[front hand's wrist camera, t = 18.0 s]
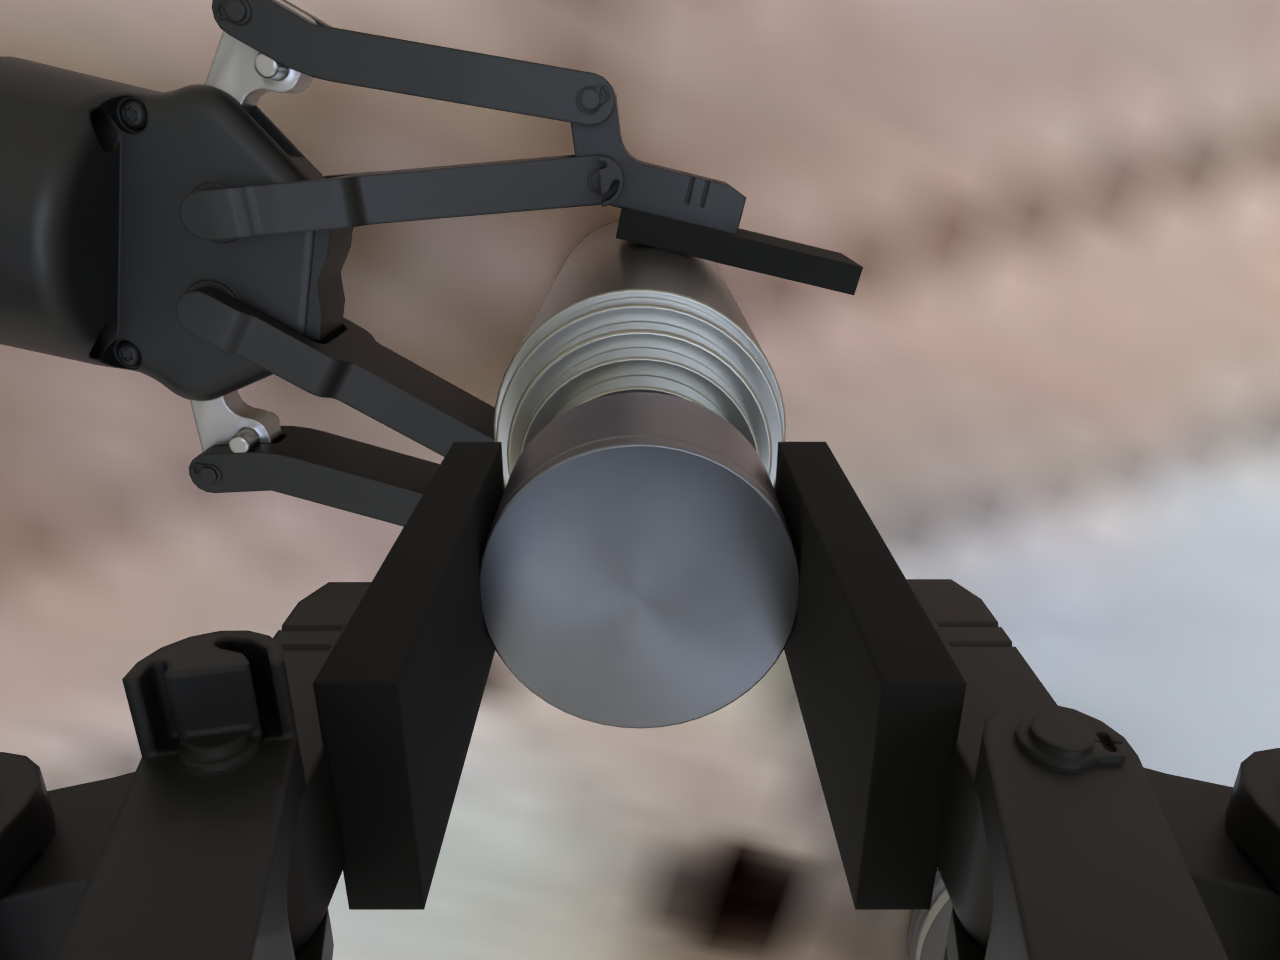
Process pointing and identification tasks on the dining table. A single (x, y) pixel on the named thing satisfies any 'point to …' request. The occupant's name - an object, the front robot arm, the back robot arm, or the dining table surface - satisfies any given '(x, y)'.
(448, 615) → the front robot arm
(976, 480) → the dining table surface
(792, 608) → the cap
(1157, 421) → the dining table surface
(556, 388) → the bottle
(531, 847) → the dining table surface
